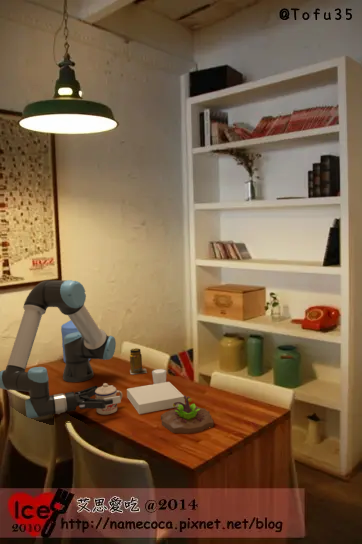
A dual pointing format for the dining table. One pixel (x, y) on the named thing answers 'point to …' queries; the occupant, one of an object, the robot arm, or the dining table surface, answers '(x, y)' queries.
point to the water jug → (66, 330)
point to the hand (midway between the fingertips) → (116, 393)
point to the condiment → (136, 362)
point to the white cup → (159, 376)
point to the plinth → (154, 397)
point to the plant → (186, 418)
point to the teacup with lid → (107, 392)
